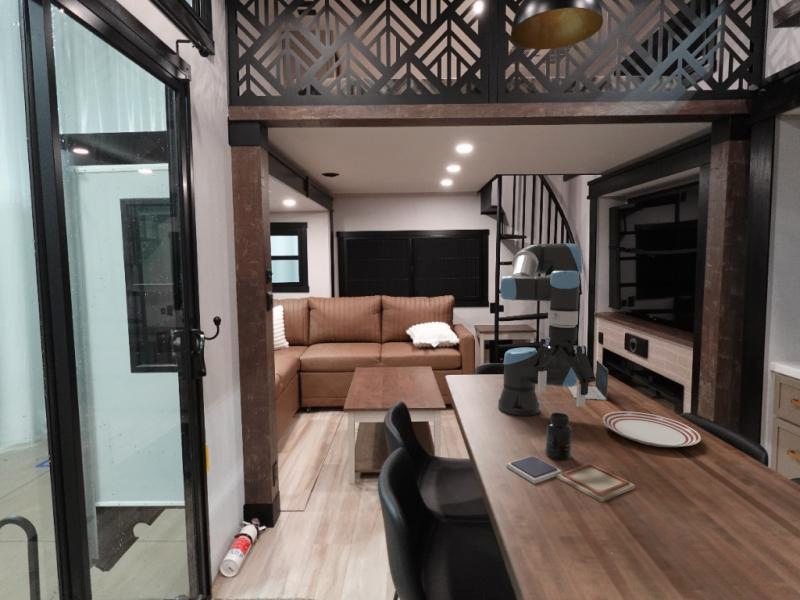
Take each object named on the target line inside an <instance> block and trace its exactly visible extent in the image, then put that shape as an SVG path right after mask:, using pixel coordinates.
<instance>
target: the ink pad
mask: <svg viewBox="0 0 800 600" xmlns="http://www.w3.org/2000/svg"><path fill="white" fill-rule="evenodd" d="M506 468H508V469H509V470H511V471H512V472H514V473H515V474H517V475H519V476H521V477H522V478H524V479H525V480H528V482H531V483H532V484H535V485H536V484H538V483H541V482H543V481H546V480H549V479H551V478H555V477H557V474H560V473H563V471H562V470H561V469H559V468H557V467H556V466H554V465H551V464H550V463H548V462H546V461H544V460H542V459H540V458H539V457H537V456H535V455H530V456H527V457H523V458H521V459H517V460H514V461H511V462H507V463H506Z"/></svg>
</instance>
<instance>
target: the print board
mask: <svg viewBox="0 0 800 600" xmlns="http://www.w3.org/2000/svg"><path fill="white" fill-rule="evenodd" d="M556 478H557V479H558V480H561V481H562V482H564V483H566V484H568V485H569V486H571V487H573V488H575V489H577V490H579V491H580V492H582V493H584V494H586V495H588V496H590V497H591V498H593V499H595V500H596V501H598V502H600V503H604V502H605V501H608V500H610V499H612V498H615V497H617V496H619V495H622V494H624V493H627V492H629V491H631V490H634V489H636V485H635V484H634V483H632V482H630V481H628V479H627V480H626V479H624V478H622V477H620V476H618V475H617V474H614V473H613V472H610V471H607V470H606V469H603V468H601V467H599V466H597V465H595V464H593V463H591V462H589V463H588V462H587V463H585V464H583V465H580V466H578V467H574V468H572V469H569V470H566V471H562V473H560V474H557V476H556Z"/></svg>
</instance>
